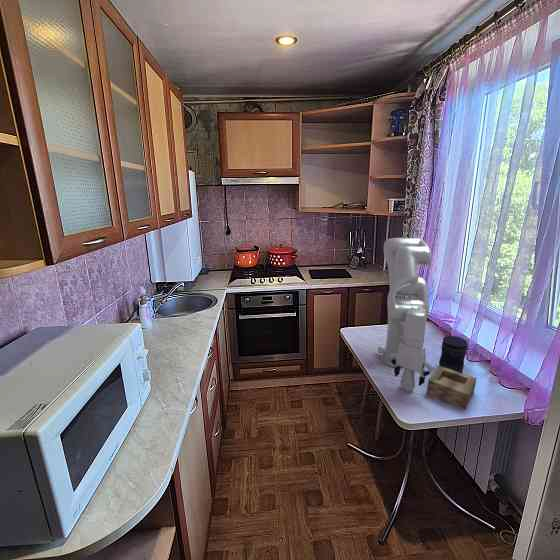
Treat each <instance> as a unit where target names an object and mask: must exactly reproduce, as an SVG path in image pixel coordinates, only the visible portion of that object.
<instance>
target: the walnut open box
mask: <svg viewBox="0 0 560 560" xmlns="http://www.w3.org/2000/svg"><path fill="white" fill-rule="evenodd" d="M476 384H477V377H475V376H472V375H468V374H466V373H460V372H457V371H454V370H451V369H448V368H445V367H442V366H439V365H438V367H437V368H436V370H435V371H434V372H433V374H432V375H431V376H430V377H429V379H428V382H427V387H426V395H427V396H429V397H430V398H431V397H432V398H434V399H437V400H439V401H442V402H444V403H447V404H450V405H452V406H453V407H457V408H459V409H461V410H464V411H465V410H466V409H467V407H468V405H469V403H470V401H471V399H472V397H473V395H474V392H475V388H476Z"/></svg>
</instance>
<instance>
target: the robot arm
mask: <svg viewBox="0 0 560 560" xmlns="http://www.w3.org/2000/svg"><path fill="white" fill-rule="evenodd" d="M383 243H384V244H383V254H384V259H385V263H386V264H387V267H388V276H389V277H388V279H389V281H388V282H389V291H388V294H387V302H386V303H387V317H388V318H387V333H386V341H385V348H384V347H381V346H378V347H377V353H379V354H382V355H381V356H380V358H381V360H380V361H382V363H384V364H385V365H386V366H389V367H392V368H394V370H393V372H394V377H398V376H399V375H400V372H401V368H403V369H405V368H406V369H409V370H412V371H414V373H419V378H418V379H419V380H418V386H419V387H420V386H422V385H423V384H425V380H426V376H429V375H430V374H431V373H432V372H433V371H434V369H435V368H434V367H433V366H432V365H430V364H429V363H428V362H427V361H426V346H425V345H424V343H425V342H424V341H425V333H426V327H427V318H428V317H429V315H430V305H429V304H430V303H429V295H428V294H429V293H428V286H427V285H428V284H427V281H426V279H425V278H424V277H422V276H419V271H418V267H419V266H423V267H425V266H426V267H427V266H429V265H430V264H431V260H432V252H431V249H430V247H429V246H428V244H427V243H426V241H424V240H423V239H422V238H419V237H392V238H388V239H386V240H385V241H384V242H383ZM407 297H408V298H407ZM409 297H410V298H409ZM412 297H413V298H412ZM425 368H426V369H427V370H425Z"/></svg>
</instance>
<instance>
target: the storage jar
mask: <svg viewBox="0 0 560 560" xmlns="http://www.w3.org/2000/svg"><path fill="white" fill-rule="evenodd" d="M468 344H469V343H468V340H466V339H464V338H463V337H459V336H456V335H446V336H443V338H442V342H441V354H440V357H439V362H438V367H439V366H442V367H445V368H448V369H451V370H454V371H457V372H460V373H463V371H464V367H465V358H466V355H467V350H468ZM463 374H464V373H463Z"/></svg>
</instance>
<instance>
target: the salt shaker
mask: <svg viewBox="0 0 560 560" xmlns="http://www.w3.org/2000/svg"><path fill="white" fill-rule="evenodd" d="M399 385H400V388H401V390H402V391H403V392H406V393H411V392H412V391H413V390H414V389H415V387H416V379H415V371H412V370H409V369H406V368H404V370H403V374H402V376H401V379H400V382H399Z"/></svg>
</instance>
